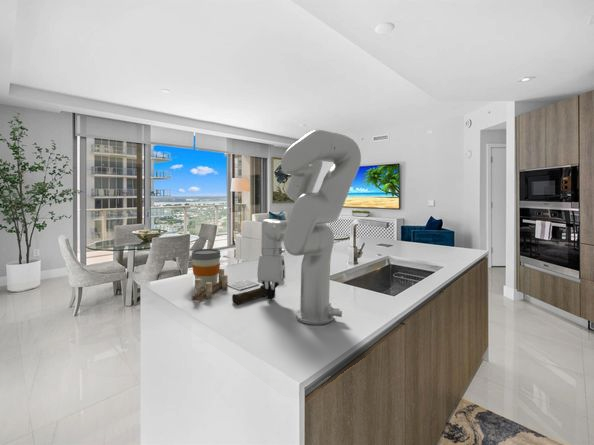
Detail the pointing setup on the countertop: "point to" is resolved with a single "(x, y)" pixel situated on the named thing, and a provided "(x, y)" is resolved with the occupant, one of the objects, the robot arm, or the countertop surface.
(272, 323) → the countertop surface
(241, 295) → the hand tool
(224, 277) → the peg rack
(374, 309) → the countertop surface
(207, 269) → the reusable coffee cup
